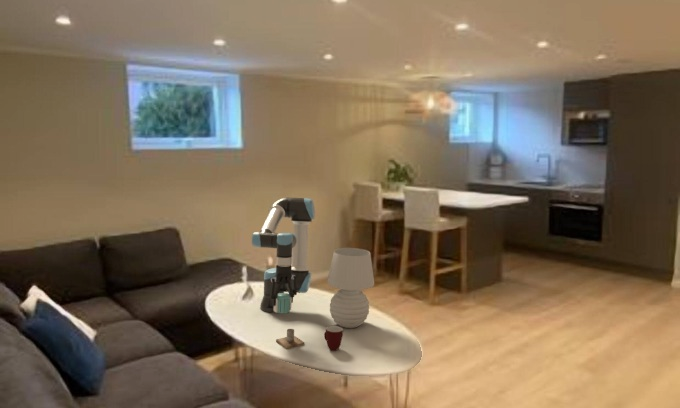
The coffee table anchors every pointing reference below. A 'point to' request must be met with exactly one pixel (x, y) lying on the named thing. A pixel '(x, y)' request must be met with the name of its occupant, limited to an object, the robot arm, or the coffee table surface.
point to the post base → (290, 345)
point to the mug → (333, 337)
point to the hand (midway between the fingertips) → (282, 310)
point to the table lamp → (350, 286)
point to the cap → (283, 302)
